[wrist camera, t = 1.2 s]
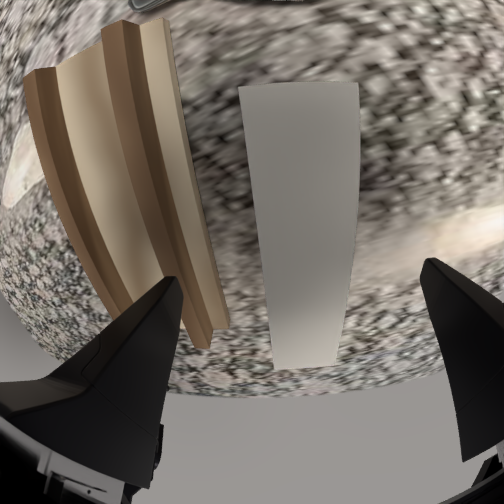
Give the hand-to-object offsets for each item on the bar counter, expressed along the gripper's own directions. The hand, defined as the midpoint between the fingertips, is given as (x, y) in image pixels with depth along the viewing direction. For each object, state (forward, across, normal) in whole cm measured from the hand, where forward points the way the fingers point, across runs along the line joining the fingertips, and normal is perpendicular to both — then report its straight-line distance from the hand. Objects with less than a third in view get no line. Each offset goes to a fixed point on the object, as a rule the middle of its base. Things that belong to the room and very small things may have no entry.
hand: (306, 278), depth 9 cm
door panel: (+8, 0, 0) cm, 8 cm away
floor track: (+8, +10, 0) cm, 13 cm away
